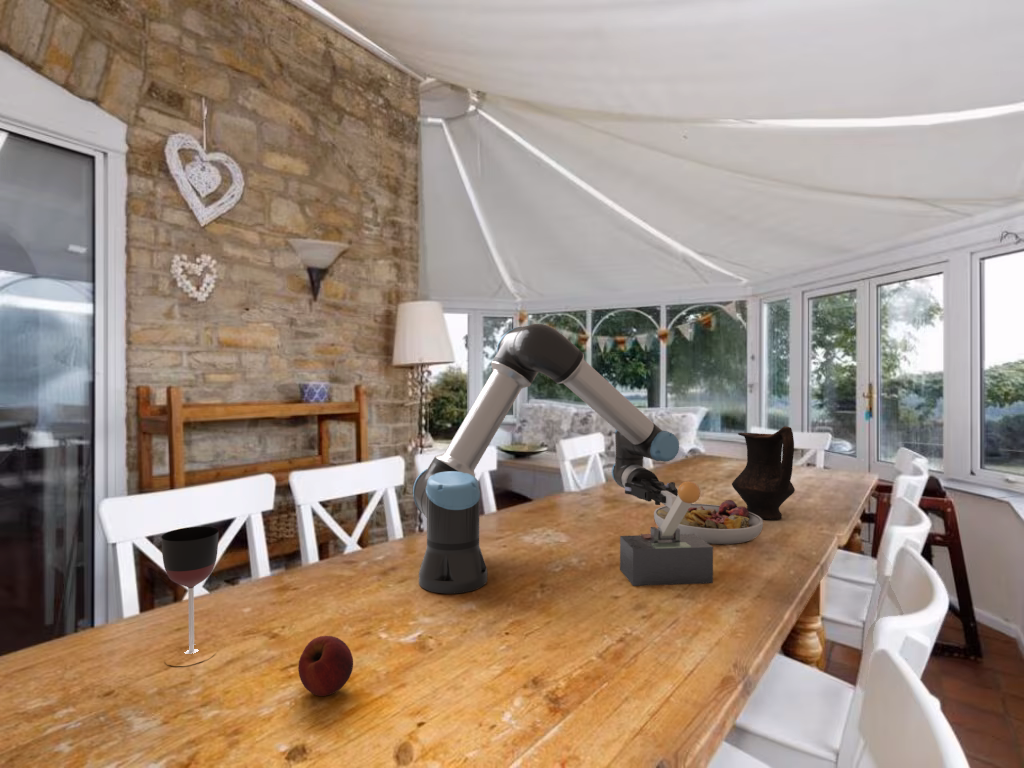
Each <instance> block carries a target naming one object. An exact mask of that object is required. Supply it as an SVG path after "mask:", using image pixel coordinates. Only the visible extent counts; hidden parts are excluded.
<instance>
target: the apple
mask: <svg viewBox="0 0 1024 768" xmlns="http://www.w3.org/2000/svg"><path fill="white" fill-rule="evenodd" d="M297 668H298V676H299V679H300V681H301V684H302V685H303V687H304V688H305V689H306V691H308V692H310V693H311V694H312V695H315V696H319V697H324V696H325V697H326V695H327V696H329V695H332V694H334V692H335V693H336V692H338V691H339V690H340V689H342V688H343V686H346V683H347V682H348V681H349V679H350V678H351V675H352V673H353V668H354V658H353V654H352V652H351V649H350V647H348V645H347V644H346V643H345V642H344V641H343V640H341V639H340V638H338V637H336V636H332V635H321V636H317V637H315V638H313V639H312V640H310V641H309V642H308V644H307V645H306V646H304V649H303V650H302V652H301V654H300V658H299V660H298V667H297Z"/></svg>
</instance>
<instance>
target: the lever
mask: <svg viewBox="0 0 1024 768" xmlns="http://www.w3.org/2000/svg"><path fill="white" fill-rule="evenodd" d="M677 490H678V496H677V498H676V500H675V501H674V503H673V505H672V507H671V509H670V511H669V512H668V514H667V516H666V518H665V520H664V521H663V523H662V525H661V527H660V528H659V527H656V528H657V529H658V539H659V540H661V539H673V537H674V532H675V531H676V529H677V527H678V526H679V524H680V522H681V521H682V519H683V517H684V516H685V514H686V512H687V511H688V509H689V507H690V506H691V504H695V503H696V502H697V501H698V500H699V499H700V496H701V488H700V487H699V485H697V483H695V482H693V481H688V480H686V481H683V482H681V484H680V485H679V486H678V488H677Z"/></svg>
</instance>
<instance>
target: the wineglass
mask: <svg viewBox="0 0 1024 768" xmlns="http://www.w3.org/2000/svg"><path fill="white" fill-rule="evenodd" d="M218 548H219V529H218V528H216V527H212V526H192V527H184V528H178V529H174V530H171V531H168V532H166V533H164V534H162V535H161V556H162V560H163V561H162V562H163V566H164V567H163V568H164V571H165V573H166V574H167V577H168V578H169V580H170V581H172V582H173V583H176V584H177V585H180V586H183V587H187V593H188V596H187V597H188V599H187V601H188V603H187V604H188V605H187V606H188V646H189V650H187V651H186V652H184V653H185V654H192V653H193V654H194V653H196V652H198V651H199V650H198V649H194V645H195V604H194V603H195V596H194V595H195V594H194V593H195V590H194V589H195V586H197V585H199V584H201V583H202V582H204V581H205V580H206V579H207V578H208V577H210V575H211V574H212V572H213V571H214V568H215V566H216V563H217V556H218V551H219V550H218Z"/></svg>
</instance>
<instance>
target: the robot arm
mask: <svg viewBox="0 0 1024 768" xmlns="http://www.w3.org/2000/svg"><path fill="white" fill-rule="evenodd" d="M490 364H491V365H490V366H491V369H492V372H491V373H490V375H489V377H488V379H487V380H486V381H485V384H484V385H483V387H482V389H481V390H480V392H479V394H478V396H477V397H476V399H475V401H474V402H473V404H472V406H471V407H470V409H469V411H468V412H467V414H466V416H465V418H464V419H463V421H462V422H461V424H460V426H459V428H458V429H457V431H456V432H455V434H454V436H453V438H452V439H451V441H450V442H449V443H448V444H449V445H448V446H447V448H446V450H445V451H444V452H443V453H441V454H437V455H435V456H434V457H433V460H432V461H431V462H430V464H429V466H428V468H426V469H424V470H423V471H421V473H420V474H419V475H418V476H417V477H416V478H415V480H414V483H413V487H412V495H413V501H414V504H415V506H416V507H417V509H418V511H420V512H421V514H422V515H423V516H424V517H425V518H426V549H425V552H424V556H423V559H422V562H421V565H420V568H419V572H418V585H419V586H420V588H422V589H424V590H425V591H428V592H431V593H438V594H445V595H446V594H451V595H452V594H463V593H469V592H472V591H476V590H478V589H480V588H482V587H484V586H485V585H487V583H488V568H487V566H486V565H487V564H486V562H485V558H484V556H483V553H482V550H481V547H480V497H481V489H480V482H479V481H478V479H477V477H476V473H475V469H477V466H478V464H479V462H481V459H482V458H483V455H484V454H485V452H486V450H487V449H488V447H489V445H490V444H491V443H492V441H493V438H494V437H495V435H496V433H497V432H498V430H499V428H500V427H501V425H502V423H503V421H504V419H505V418H506V417H507V415H508V413H509V411H510V409H511V408H512V406H513V404H514V403H515V401H516V399H517V398H518V395H519V394H520V392H521V391H522V390H523V389H524V388H529V387H531V385H532V383H533V381H534V380H535V378H536V377H537V375H538V374H539V373H541V374H543V375H544V376H547V377H548V378H550V379H551V380H552V381H553V382H554V383H556V384H563V385H564V386H565V387H566V388H568V389H569V390H570V391H571V392H573V394H575V396H577V397H578V398H579V399H580V400H582V401H583V403H585V404H586V405H588V406H589V407H590V408H591V409H592V410H593V411H594V412H595V413H597V414H598V415H599V416H600V417H601V418H602V419H603V420H605V422H607V423H608V424H609V425H610V426H612V428H614V429H615V431H614V434H615V439H614V440H615V441H614V442H615V459H614V464H613V465H612V468H611V477H612V479H613V480H614V482H615V483H616V484H617V485H618V486H620V487H621V488H623V489H624V494H626V495H630V496H633V497H636V498H637V499H640V500H643V501H645V502H649V503H650V502H652V501H654V505H656V506H661V504H663V506H667V507H669V508H670V509H671V507H672V505H673V503H674V501H675V500H676V498H677V496H678V488H677V487H676V483H675V482H674V481H670V482H667V483H666V484H665V482H663V481H660V480H659V478H658V477H657V475H656V474H655V473H654V472H653V471H651V470H650V469H647V468H646V467H644V458H645V459H646V458H647V459H650V460H654V461H655V462H670V461H672V460H673V459H675V458H676V457H677V455H678V453H679V451H680V442H679V439H678V437H677V435H675V434H674V433H672V432H670V431H667V430H662V429H661V428H660V427H659V426H658V425H657V424H655V423H654V422H653V421H652V420H651V419H650V418H649V417H647V416H646V415H645V414H644V413H643V412H642V410H639V408H638V407H637V406H635V404H633V403H632V402H631V401H630V400H629V399H628V398H627V397H626V396H624V394H622V393H621V392H620V391H619V390H618V389H617V388H616V387H614V386H613V385H612V383H610V382H609V381H608V380H607V379H606V378H605V377H603V375H602V374H600V372H598V371H597V370H596V369H595V368H594V367H592V365H590V364H589V363H588V362H587V361H586V360H585V354H584V352H582V351H581V350H580V349H579V348H578V347H577V346H576V345H575V344H574V343H572V341H570V340H569V339H568V338H567V337H566V336H564V335H563V334H562V333H560V332H559V331H558V330H557V329H555V328H553V326H550V325H547V324H544V323H532V324H529V325H525V326H517V327H514V328H512V329H509V330H508V331H507V332H506V333H504V334H503V335H502V336H501V338H500V339H499V341H498V342H497V346H496V354H495V356H494V357H493V359H492V360H491V362H490Z"/></svg>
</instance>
